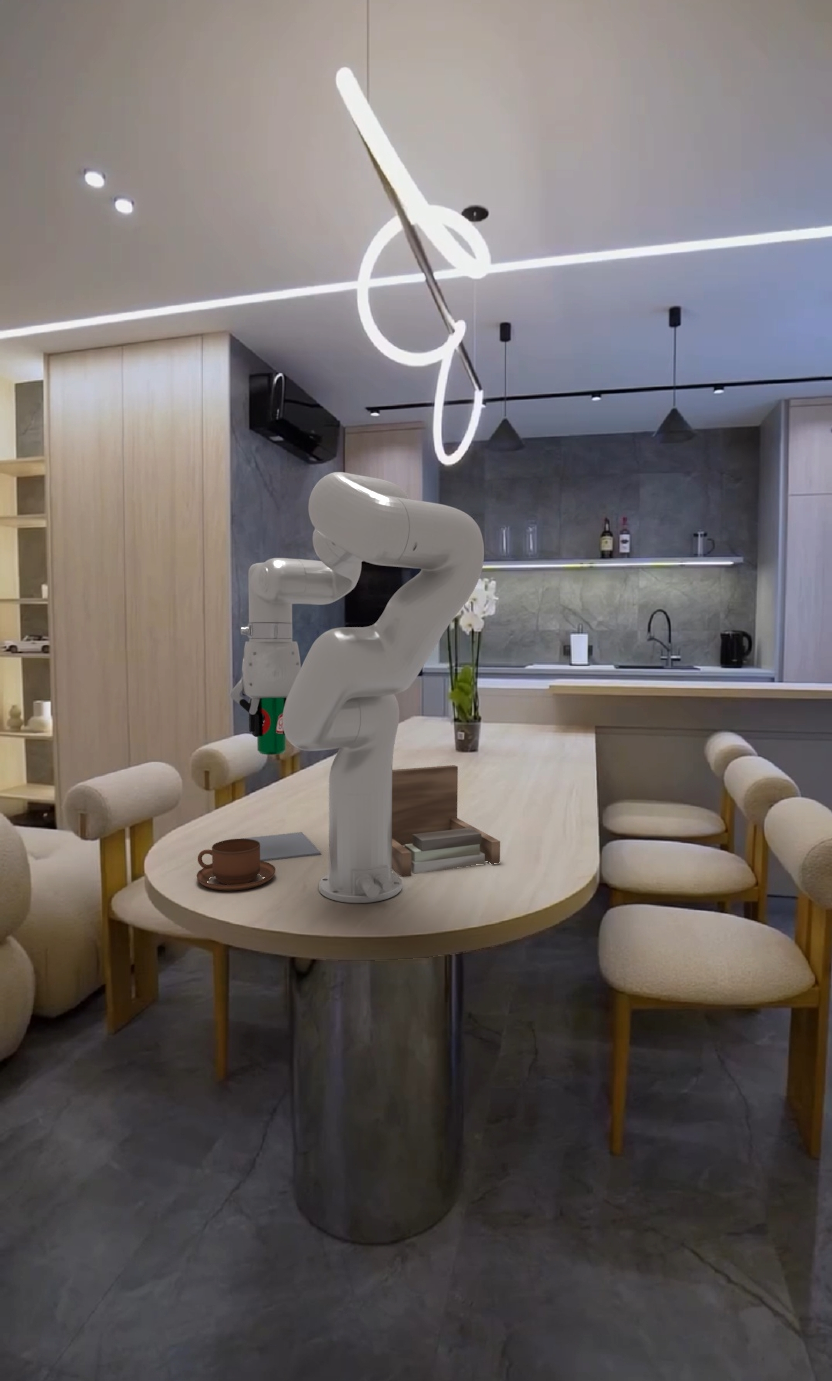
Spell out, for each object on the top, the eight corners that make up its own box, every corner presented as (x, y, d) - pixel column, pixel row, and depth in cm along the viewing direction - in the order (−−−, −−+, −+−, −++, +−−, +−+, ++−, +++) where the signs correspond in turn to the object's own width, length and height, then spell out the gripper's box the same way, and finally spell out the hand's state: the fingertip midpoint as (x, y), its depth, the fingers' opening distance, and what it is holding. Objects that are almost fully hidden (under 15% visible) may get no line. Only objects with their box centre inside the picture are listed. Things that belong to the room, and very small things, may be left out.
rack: (499, 864, 121) (501, 783, 120) (402, 877, 114) (402, 792, 113) (453, 836, 137) (454, 765, 136) (365, 846, 130) (365, 771, 129)
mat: (321, 855, 125) (321, 852, 125) (240, 865, 119) (240, 861, 119) (301, 834, 138) (301, 831, 138) (228, 842, 132) (228, 839, 132)
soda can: (282, 755, 125) (282, 687, 124) (254, 755, 125) (253, 687, 124) (288, 750, 130) (288, 685, 129) (261, 750, 130) (260, 685, 129)
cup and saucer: (195, 900, 104) (194, 859, 104) (198, 874, 116) (197, 837, 115) (278, 893, 107) (278, 853, 107) (272, 868, 119) (272, 832, 118)
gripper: (224, 633, 119) (226, 740, 120) (323, 634, 125) (323, 735, 127) (218, 633, 126) (220, 734, 127) (312, 633, 132) (312, 730, 134)
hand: (271, 734), depth 127 cm, fingers closed on soda can, 5 cm apart
